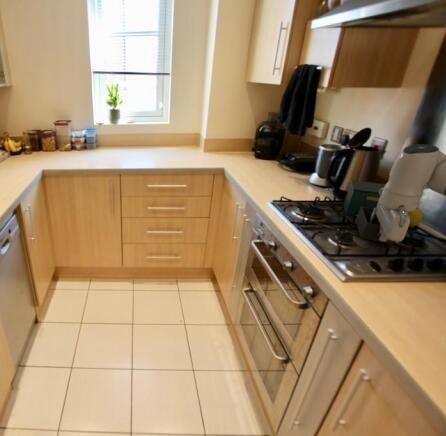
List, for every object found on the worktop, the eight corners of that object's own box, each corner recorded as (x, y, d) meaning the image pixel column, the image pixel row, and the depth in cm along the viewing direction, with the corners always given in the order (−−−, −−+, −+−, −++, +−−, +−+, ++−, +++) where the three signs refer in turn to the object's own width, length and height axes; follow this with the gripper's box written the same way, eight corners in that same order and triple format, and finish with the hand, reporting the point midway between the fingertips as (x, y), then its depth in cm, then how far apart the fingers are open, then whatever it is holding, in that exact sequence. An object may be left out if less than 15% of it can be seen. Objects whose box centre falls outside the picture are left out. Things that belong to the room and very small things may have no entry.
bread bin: (385, 210, 125) (396, 185, 120) (391, 222, 117) (402, 196, 112) (342, 204, 131) (351, 180, 126) (345, 214, 123) (354, 189, 118)
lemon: (402, 222, 117) (411, 202, 113) (420, 228, 112) (430, 208, 109) (393, 225, 115) (402, 205, 111) (410, 232, 110) (420, 211, 107)
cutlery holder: (384, 228, 113) (395, 202, 108) (392, 248, 102) (405, 219, 97) (354, 223, 117) (363, 197, 112) (359, 241, 106) (370, 214, 101)
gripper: (422, 216, 84) (401, 258, 91) (404, 189, 100) (387, 227, 107) (393, 212, 87) (375, 253, 94) (379, 186, 103) (365, 223, 109)
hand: (381, 239), depth 100 cm, fingers closed
